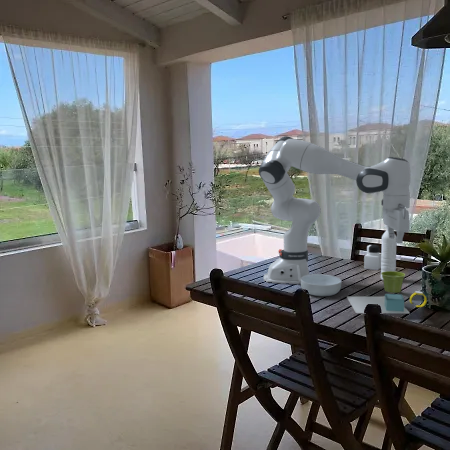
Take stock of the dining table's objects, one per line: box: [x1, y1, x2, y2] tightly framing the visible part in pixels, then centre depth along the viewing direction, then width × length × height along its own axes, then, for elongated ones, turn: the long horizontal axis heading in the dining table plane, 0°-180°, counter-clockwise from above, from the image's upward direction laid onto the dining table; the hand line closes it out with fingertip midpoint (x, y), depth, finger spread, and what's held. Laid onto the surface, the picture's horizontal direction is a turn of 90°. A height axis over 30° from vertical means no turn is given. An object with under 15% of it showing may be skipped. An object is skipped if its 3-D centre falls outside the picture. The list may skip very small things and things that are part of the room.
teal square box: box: [384, 293, 405, 311], centre depth 162 cm, size 6×6×4 cm
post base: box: [346, 296, 410, 314], centre depth 166 cm, size 19×19×5 cm
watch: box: [409, 290, 428, 308], centre depth 167 cm, size 6×3×6 cm, turn 87°
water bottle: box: [380, 224, 397, 281], centre depth 204 cm, size 9×6×25 cm
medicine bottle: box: [363, 244, 382, 271], centre depth 225 cm, size 7×7×12 cm
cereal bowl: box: [300, 273, 342, 297], centre depth 184 cm, size 17×17×7 cm
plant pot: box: [380, 270, 406, 294], centre depth 183 cm, size 9×9×9 cm
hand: (395, 240), depth 158 cm, fingers open, 8 cm apart
